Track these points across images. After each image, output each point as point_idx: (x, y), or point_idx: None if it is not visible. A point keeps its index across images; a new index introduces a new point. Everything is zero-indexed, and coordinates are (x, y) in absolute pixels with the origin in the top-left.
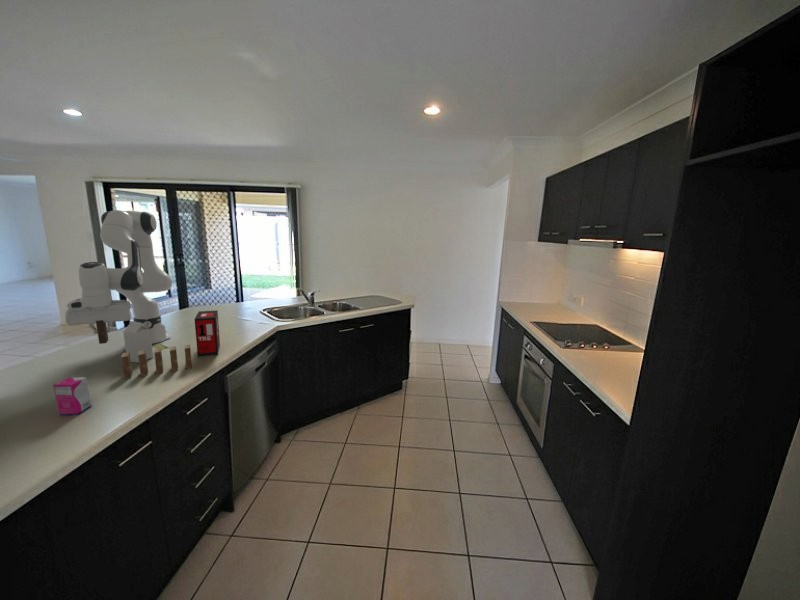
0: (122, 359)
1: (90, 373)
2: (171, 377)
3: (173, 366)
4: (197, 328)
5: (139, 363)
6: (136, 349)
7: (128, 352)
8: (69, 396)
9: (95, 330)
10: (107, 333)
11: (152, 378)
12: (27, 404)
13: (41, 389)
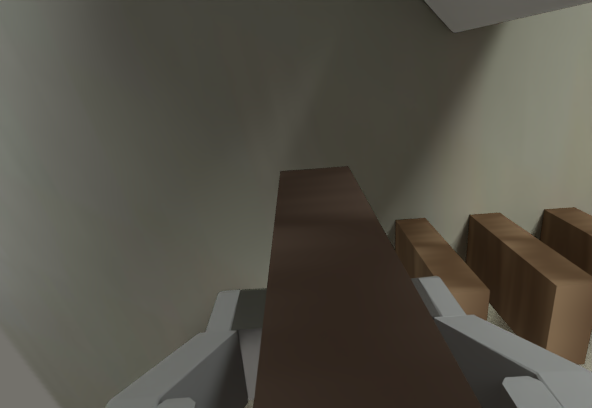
0: None
1: (210, 119)
2: (589, 341)
3: None
4: None
5: (505, 319)
6: (502, 12)
7: (483, 292)
8: None
9: (247, 387)
10: (364, 200)
11: None
12: (104, 389)
13: (70, 260)
